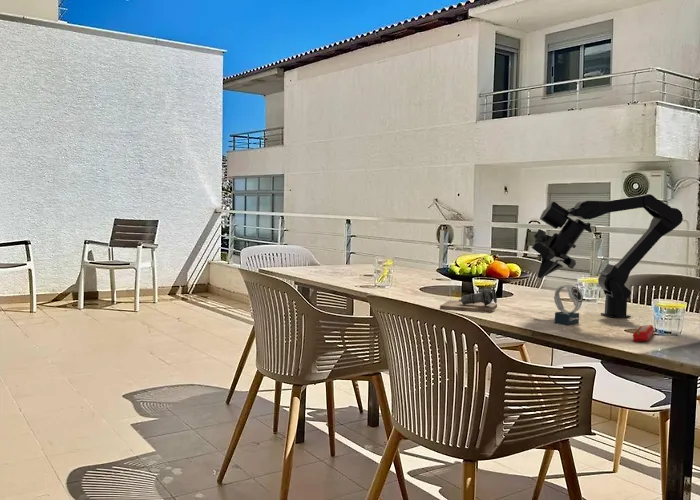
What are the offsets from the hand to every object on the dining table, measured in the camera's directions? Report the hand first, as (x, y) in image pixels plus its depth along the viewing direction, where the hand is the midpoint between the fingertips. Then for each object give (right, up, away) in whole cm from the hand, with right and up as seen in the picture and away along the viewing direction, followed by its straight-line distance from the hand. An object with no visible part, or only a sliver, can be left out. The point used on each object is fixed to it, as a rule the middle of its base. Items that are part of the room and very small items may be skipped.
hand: (538, 277), depth 210 cm
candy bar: (+16, -14, -38) cm, 44 cm away
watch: (+3, -13, -19) cm, 23 cm away
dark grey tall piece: (-13, -6, +4) cm, 15 cm away
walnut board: (-21, -10, +8) cm, 24 cm away
